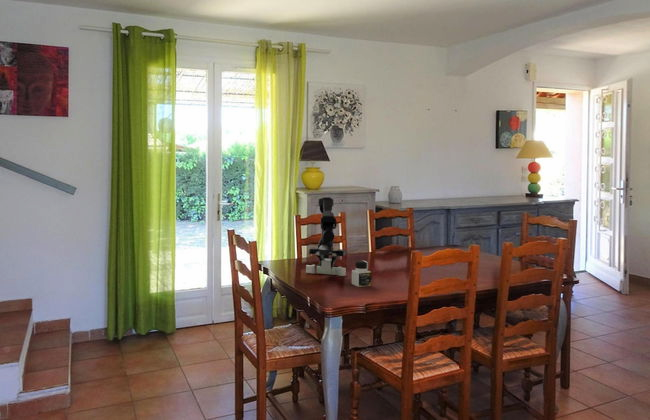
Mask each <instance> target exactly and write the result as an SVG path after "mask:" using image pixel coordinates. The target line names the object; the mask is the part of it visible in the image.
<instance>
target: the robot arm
mask: <svg viewBox="0 0 650 420" xmlns="http://www.w3.org/2000/svg"><path fill="white" fill-rule="evenodd" d="M317 204H318V207H319V211H320V213H321V216H320V230H321V238H320V239H319V241H318V244H317V247H312V248H310V249H309V253H308V254H309V255H315V257H317V259H318V260H319V263H318V264H317V266H321V261H322V260H323V259H332V261H331V268H333V267H334V265H335V262H336V260H337V258H338V257H344V256H346V255H347V251H346V249H340V248H339V249H336V250H334V240H335V233H334V230H336V228H337V226H338V225H337V218H336V217H335V215H334V213H333V212H332V210H333V207H334V198H332V197H330V196H323V197H321V198H318V203H317ZM330 256H331V258H330Z"/></svg>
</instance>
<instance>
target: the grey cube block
mask: <svg viewBox="0 0 650 420" xmlns="http://www.w3.org/2000/svg"><path fill="white" fill-rule="evenodd" d="M331 261H332V258H329V259H323V260H322V261H321V271H326V272H330V271H332V270H333V268H331Z"/></svg>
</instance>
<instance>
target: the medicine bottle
mask: <svg viewBox="0 0 650 420" xmlns="http://www.w3.org/2000/svg"><path fill="white" fill-rule="evenodd" d="M368 263H369V262H368V261H366V260H357V261H355V266H354V267H355V269H352V270H351V285H353V286H355V287H357V288H361V287H363V288H364V287H370V286H371V285H372V271H370V270H368V268H369V264H368Z"/></svg>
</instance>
